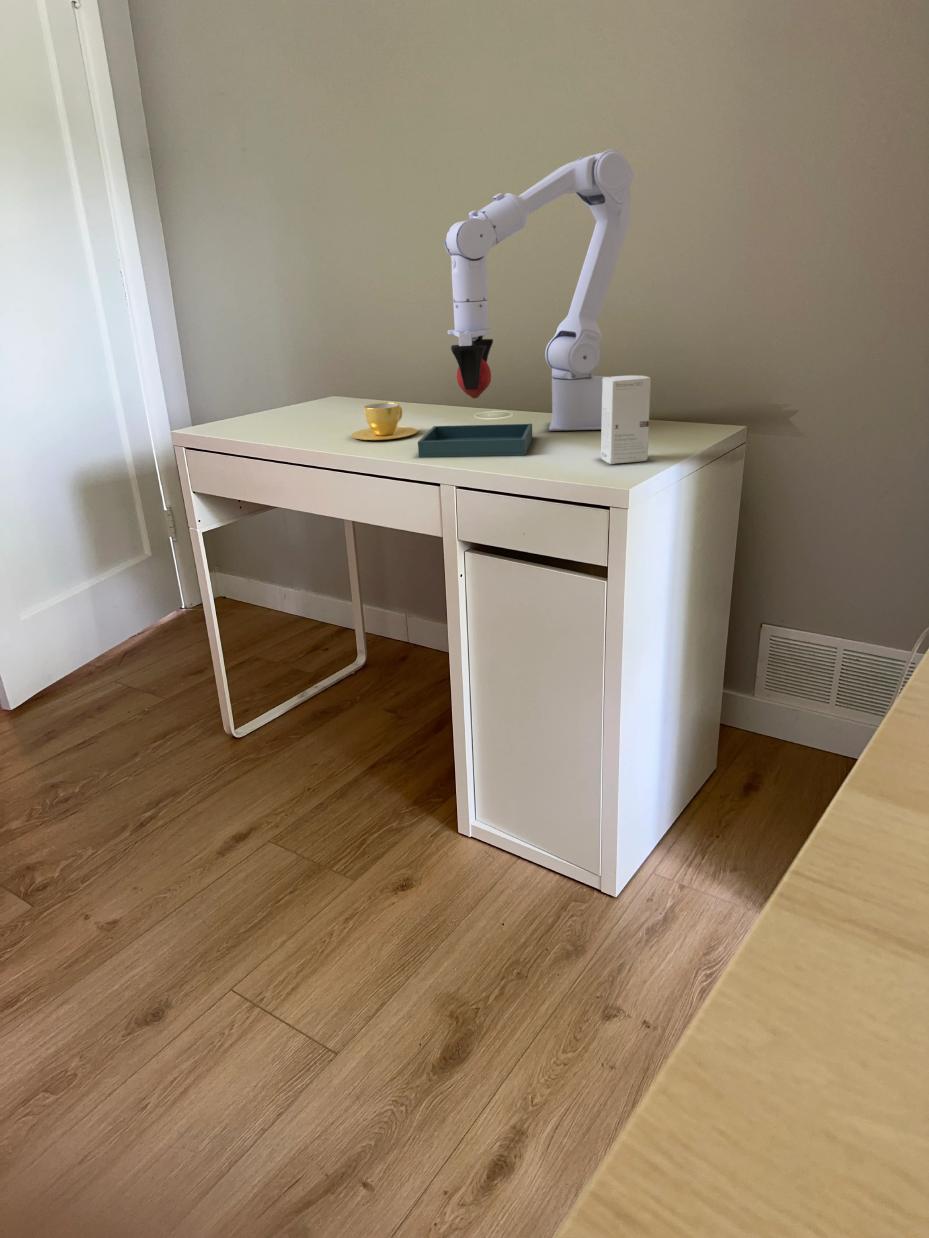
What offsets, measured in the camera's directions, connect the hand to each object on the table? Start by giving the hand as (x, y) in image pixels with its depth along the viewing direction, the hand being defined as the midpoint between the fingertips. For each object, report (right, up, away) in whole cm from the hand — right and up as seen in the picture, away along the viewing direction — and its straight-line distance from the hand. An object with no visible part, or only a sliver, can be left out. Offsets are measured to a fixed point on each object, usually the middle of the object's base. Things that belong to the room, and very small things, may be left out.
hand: (474, 386), depth 144 cm
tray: (0, -11, -3) cm, 11 cm away
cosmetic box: (+22, -16, -17) cm, 32 cm away
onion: (0, -2, +1) cm, 2 cm away
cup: (-16, -6, +11) cm, 21 cm away
